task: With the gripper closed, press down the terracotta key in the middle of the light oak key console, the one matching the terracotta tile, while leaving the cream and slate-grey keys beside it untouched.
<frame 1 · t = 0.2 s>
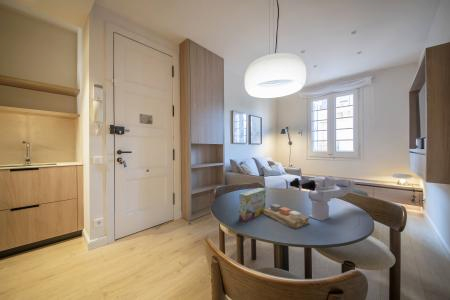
hand: (296, 185, 93), 21 cm above the table, tool horizontal, fingers open, 7 cm apart
snack box: (253, 216, 106), on the table
slate key: (275, 208, 108), point 4 cm above the table, slide at 0.0 cm
terracotta key: (284, 212, 102), point 4 cm above the table, slide at 0.0 cm
key console: (284, 218, 102), on the table
cream key: (295, 216, 95), point 4 cm above the table, slide at 0.0 cm
terracotta tile: (291, 213, 109), on the table
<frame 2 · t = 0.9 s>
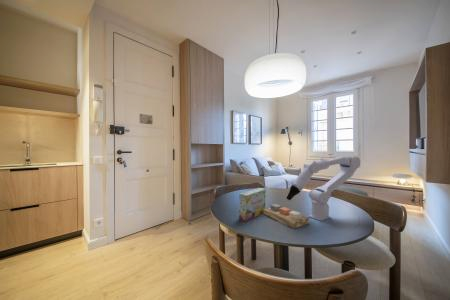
hand: (288, 199, 100), 12 cm above the table, tool tilted 40°, fingers open, 7 cm apart
nothing on the table moved.
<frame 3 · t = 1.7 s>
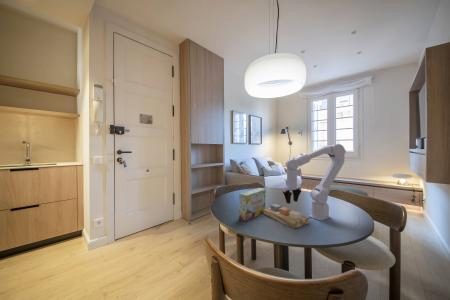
hand: (291, 202, 104), 8 cm above the table, tool pointing down, fingers open, 6 cm apart
nothing on the table moved.
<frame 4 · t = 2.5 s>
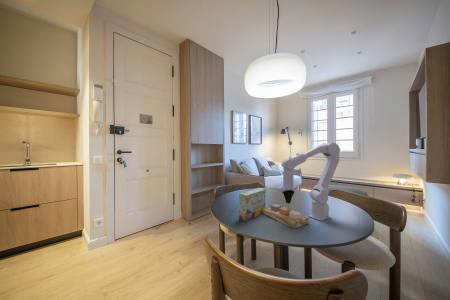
hand: (288, 202, 103), 9 cm above the table, tool pointing down, fingers closed
nothing on the table moved.
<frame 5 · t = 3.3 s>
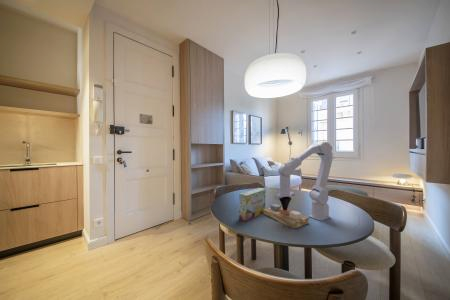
hand: (284, 209, 102), 5 cm above the table, tool pointing down, fingers closed, pressing on terracotta key
terracotta key: (284, 212, 102), point 3 cm above the table, slide at 0.4 cm, touching gripper
everything else where it was.
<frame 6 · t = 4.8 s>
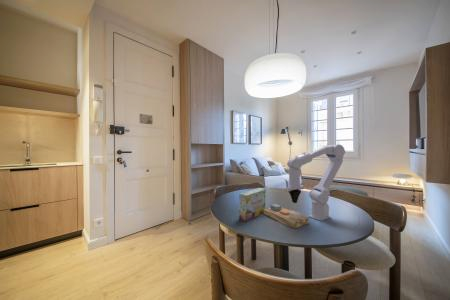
hand: (294, 202, 101), 9 cm above the table, tool pointing down, fingers closed
terracotta key: (284, 214, 102), point 2 cm above the table, slide at 1.4 cm
everything else where it was.
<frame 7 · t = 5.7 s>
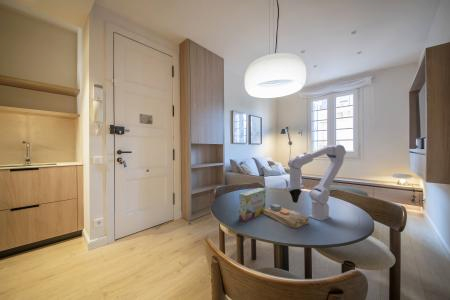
hand: (295, 202, 101), 9 cm above the table, tool pointing down, fingers closed
nothing on the table moved.
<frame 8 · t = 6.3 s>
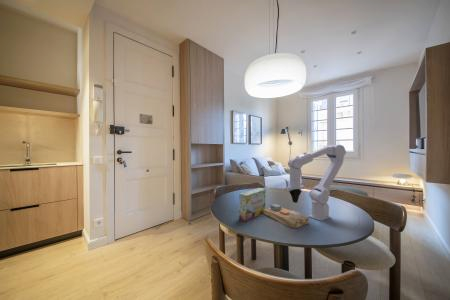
hand: (295, 202, 101), 9 cm above the table, tool pointing down, fingers closed
nothing on the table moved.
at the end: terracotta key slide at 1.4 cm; cream key slide at 0.0 cm; slate key slide at 0.0 cm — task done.
